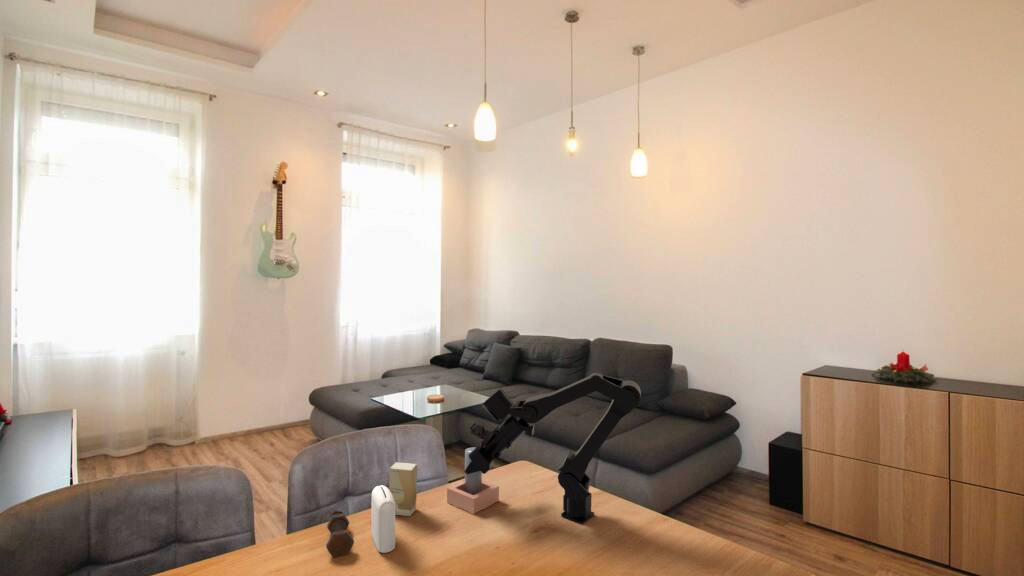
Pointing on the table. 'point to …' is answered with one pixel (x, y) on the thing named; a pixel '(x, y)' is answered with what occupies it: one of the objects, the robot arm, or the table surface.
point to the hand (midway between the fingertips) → (468, 469)
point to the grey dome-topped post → (472, 476)
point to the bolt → (339, 535)
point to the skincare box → (403, 487)
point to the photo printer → (383, 519)
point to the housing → (472, 497)
